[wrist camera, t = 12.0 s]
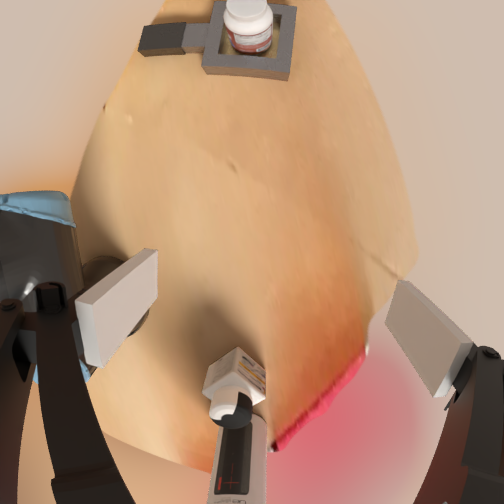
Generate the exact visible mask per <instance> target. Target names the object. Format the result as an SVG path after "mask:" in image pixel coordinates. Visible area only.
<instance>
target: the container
mask: <svg viewBox="0 0 504 504" xmlns="http://www.w3.org/2000/svg"><path fill="white" fill-rule="evenodd" d="M202 394H203V395H205V396H206V397H207V398H209V399H210V400H211V401H212V402H211V406H210V411H209V415H210V418H211V419H212V420H213V422H215V423H216V424H217V425H219V426H221V427H224V428H228V429H238V428H242V427H244V426H246V425H247V424H249V423H250V421H251V419H252V408H253V405H255V404H257V403H259V402H260V401H262V400H264V399H265V398H266V370H265V369H263V368H262V367H261V366H260V365H259V364H258V363H256V362H255V361H254V360H253V359H252V358H251V357H250V356H248V355H247V354H246V353H245V352H244V351H243V350H242V349H241V348H239V347H236V348H234V349H233V350H232V351H230V352H229V353H227V354H226V355H224V356H223V357H222V358H220V359H219V360H217V361H216V362H214V363H213V364H211V365H210V366H209V367H208V371H207V375H206V378H205V382H204V385H203V389H202Z"/></svg>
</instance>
